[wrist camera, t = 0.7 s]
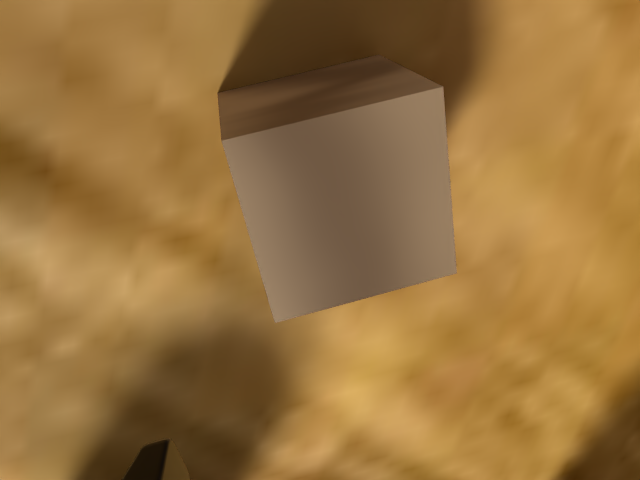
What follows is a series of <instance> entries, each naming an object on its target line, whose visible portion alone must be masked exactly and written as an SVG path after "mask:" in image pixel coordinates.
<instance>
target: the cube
mask: <svg viewBox="0 0 640 480" xmlns="http://www.w3.org/2000/svg"><path fill="white" fill-rule="evenodd" d="M218 105H219V116H220V128H221V140H222V144H223V147H224V151H225V154H226V157H227V161H228V164H229V168H230V171H231V175H232V178H233V181H234V185H235V188H236V192H237V195H238V198H239V202H240V205H241V209H242V212H243V216H244V219H245V222H246V226H247V229H248V233H249V236H250V239H251V243H252V246H253V250H254V253H255V257H256V260H257V263H258V267H259V270H260V274H261V277H262V280H263V284H264V287H265V291H266V294H267V297H268V301H269V304H270V308H271V311H272V315H273V318H274V321H275V323H277V322H281V321H284V320H288V319H292V318H295V317H299V316H303V315H306V314H310V313H313V312H317V311H321V310H324V309H328V308H332V307H335V306H339V305H343V304H346V303H350V302H354V301H357V300H361V299H365V298H368V297H372V296H376V295H379V294H383V293H386V292H390V291H394V290H397V289H401V288H405V287H408V286H412V285H416V284H419V283H423V282H427V281H430V280H434V279H438V278H441V277H445V276H449V275H452V274H456V273H457V270H456V257H455V243H454V229H453V215H452V201H451V187H450V173H449V159H448V145H447V131H446V117H445V104H444V90H443V86H441V85H439V84H437V83H435V82H433V81H431V80H429V79H427V78H425V77H423V76H421V75H419V74H417V73H415V72H413V71H411V70H409V69H407V68H405V67H403V66H401V65H399V64H397V63H395V62H393V61H391V60H389V59H387V58H385V57H383V56H381V55H375V56H371V57H367V58H363V59H359V60H354V61H350V62H346V63H342V64H337V65H333V66H329V67H325V68H321V69H316V70H312V71H308V72H304V73H299V74H295V75H291V76H287V77H283V78H278V79H274V80H270V81H266V82H261V83H257V84H253V85H249V86H245V87H240V88H236V89H232V90H228V91H223V92H219V93H218Z"/></svg>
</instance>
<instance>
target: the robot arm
mask: <svg viewBox="0 0 640 480" xmlns="http://www.w3.org/2000/svg"><path fill="white" fill-rule="evenodd" d="M122 480H190V476H189V473H188V470H187V468H186V466H185V464H184V462H183V460H182V458H181V456H180V454H179V452H178V450H177V448H176V446H175V444H174V442H173V441H172V440H171V439H170V438H164V439H161V440H157V441H154V442H150V443H147V444H145V445H144V446H143V447H142V448H141V449H140V451H139V453H138V454H137V456H136V457H135V459H134V461H133V462H132V464H131V466H130V467H129V469H128V470H127V472H126V474H125V475H124V477H123V478H122Z"/></svg>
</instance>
